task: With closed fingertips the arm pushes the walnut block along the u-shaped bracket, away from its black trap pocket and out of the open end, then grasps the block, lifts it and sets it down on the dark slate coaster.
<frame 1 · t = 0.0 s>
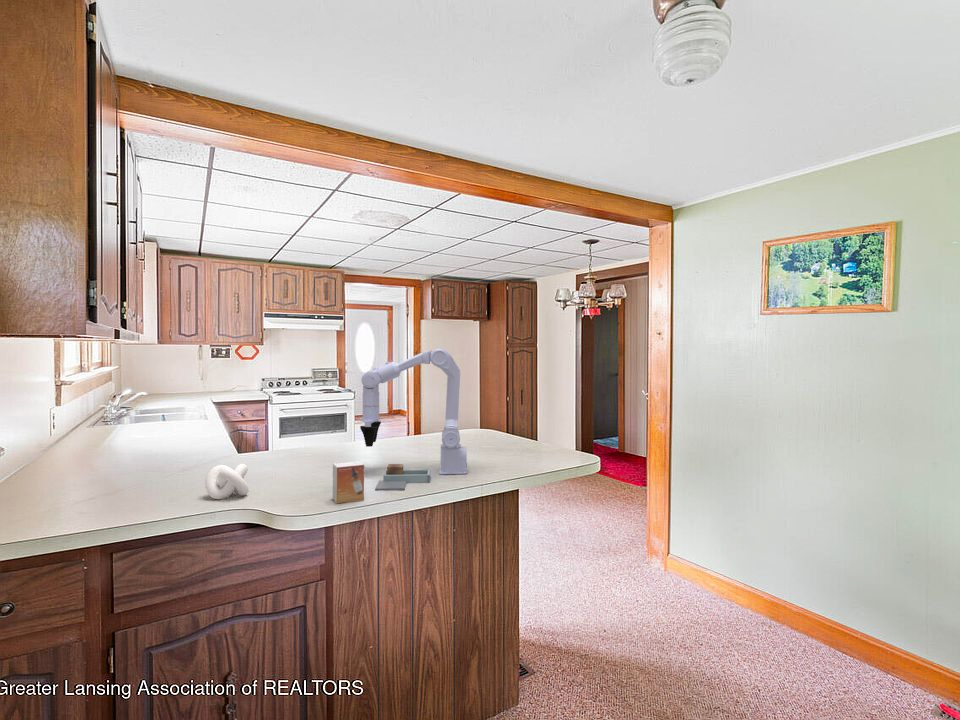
hand: (371, 444, 173), 10 cm above the countertop, fingers open, 7 cm apart
small box: (348, 500, 143), on the countertop
coaster: (391, 486, 157), on the countertop
u-shaped bracket: (407, 479, 164), on the countertop
block: (395, 480, 164), on the countertop
white knot sculpture: (231, 497, 146), on the countertop
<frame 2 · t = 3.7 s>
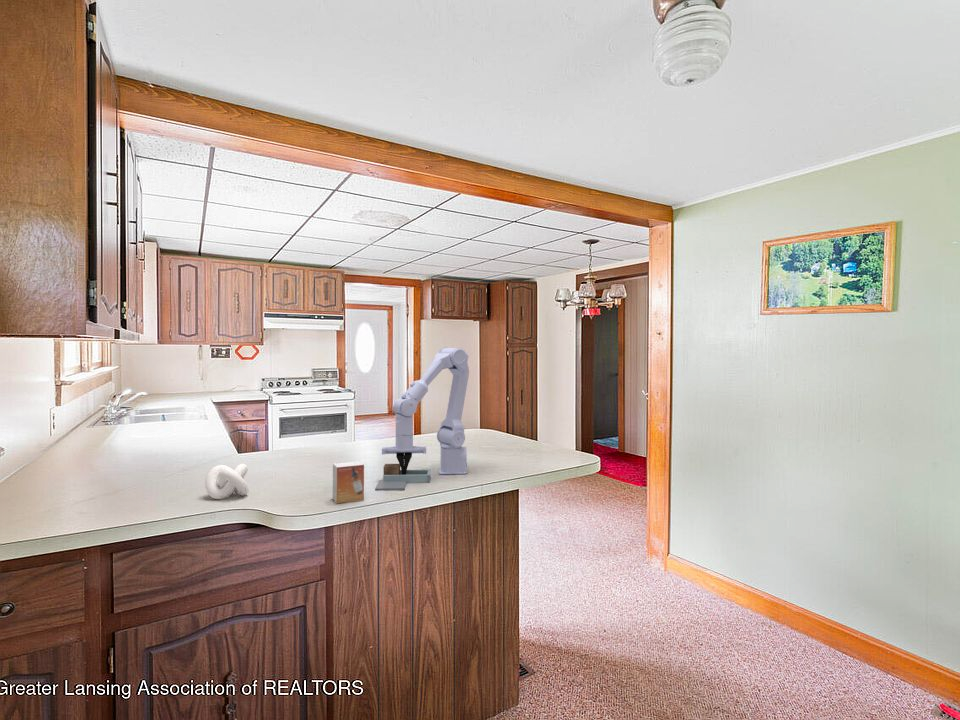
hand: (404, 475, 164), 2 cm above the countertop, fingers closed
block: (391, 480, 164), on the countertop, touching gripper
everything else where it was.
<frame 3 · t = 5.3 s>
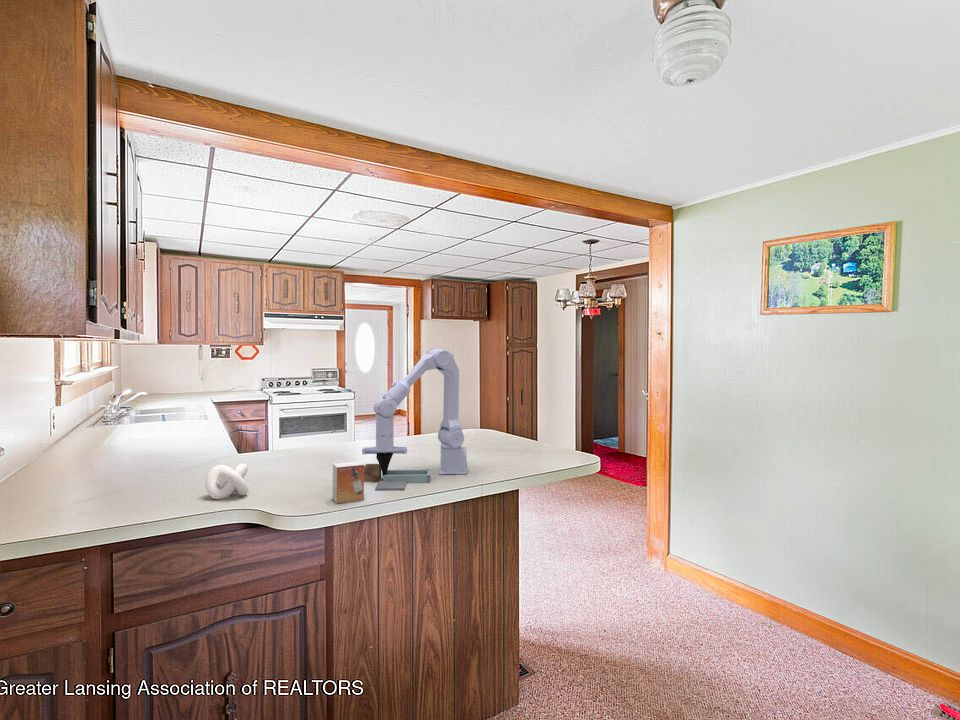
hand: (384, 475, 164), 2 cm above the countertop, fingers closed
block: (372, 480, 164), on the countertop, touching gripper
everything else where it was.
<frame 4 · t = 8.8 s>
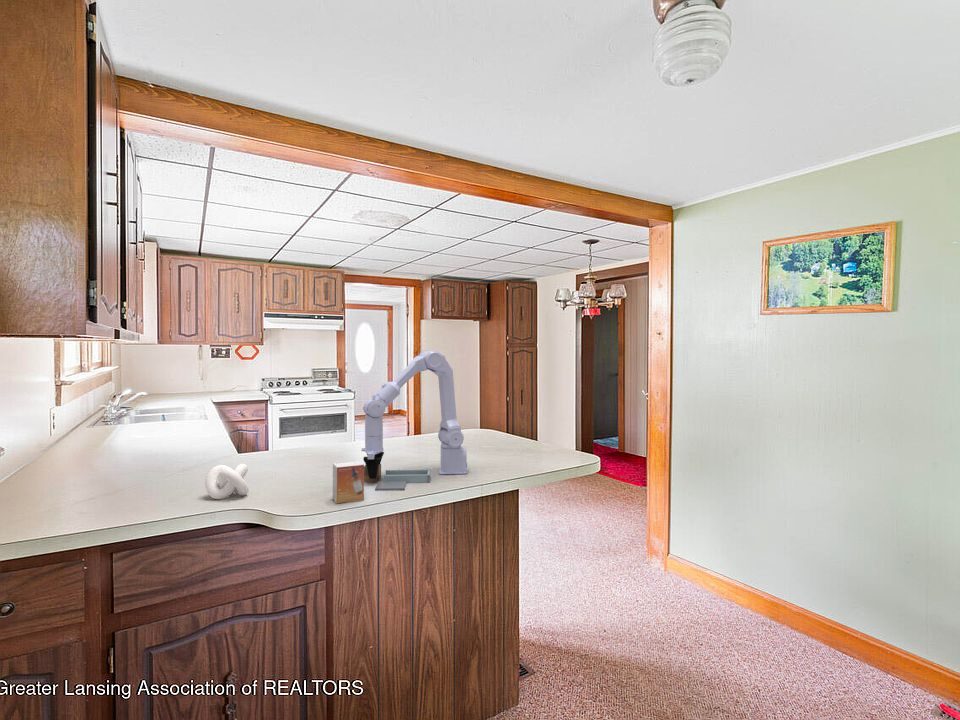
hand: (374, 476, 163), 1 cm above the countertop, fingers open, 5 cm apart
nothing on the countertop moved.
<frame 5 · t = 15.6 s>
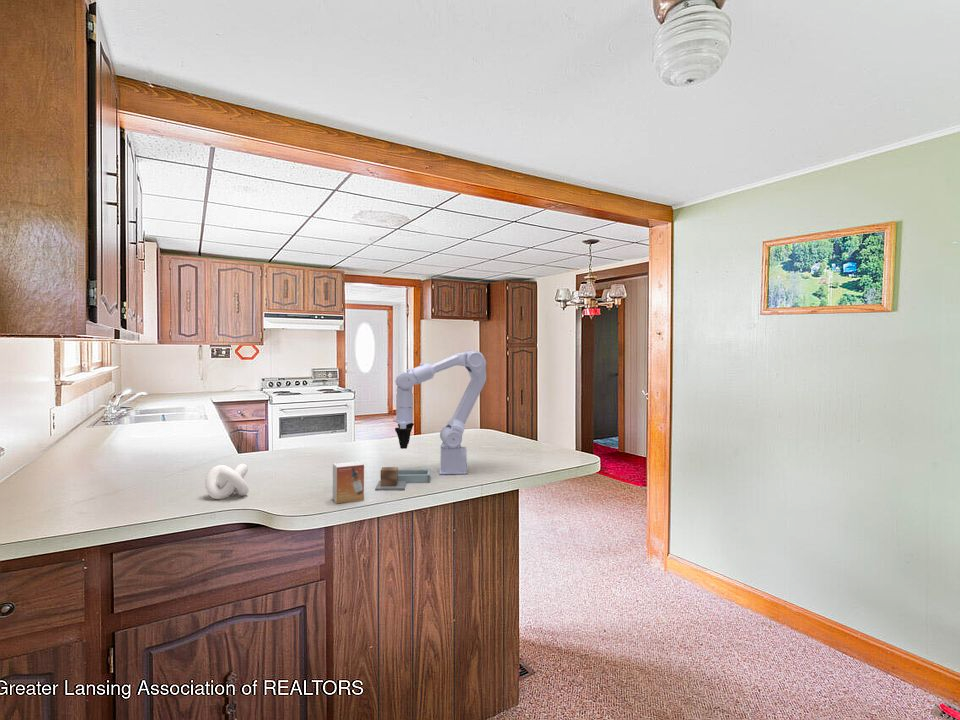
hand: (404, 446, 171), 10 cm above the countertop, fingers open, 7 cm apart
block: (389, 484, 157), point 1 cm above the countertop, touching coaster
everything else where it was.
at the end: block inside the target area on the coaster (0.7 cm from its centre), point 0.6 cm above the coaster's base; block tilted 0°; the gripper is holding nothing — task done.
